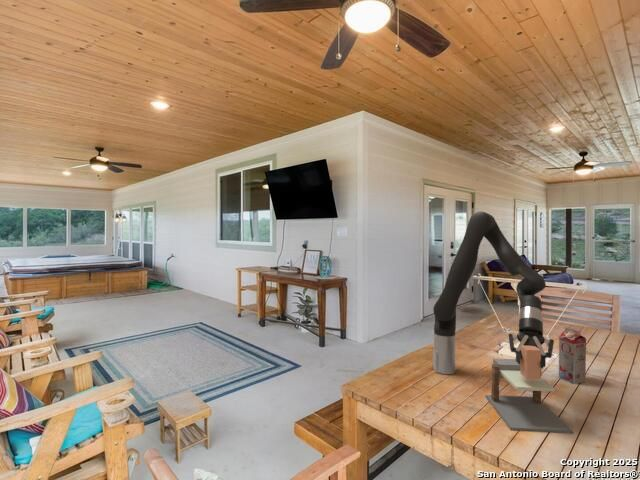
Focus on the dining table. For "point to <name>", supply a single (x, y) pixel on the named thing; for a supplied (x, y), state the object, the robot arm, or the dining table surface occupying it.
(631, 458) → the dining table surface
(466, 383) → the dining table surface
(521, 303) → the robot arm
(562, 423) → the mat
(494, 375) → the posts
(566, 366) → the juice carton
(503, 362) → the trapdoor
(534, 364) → the brick
